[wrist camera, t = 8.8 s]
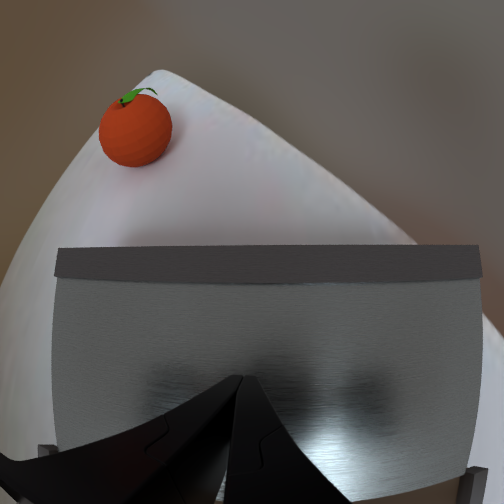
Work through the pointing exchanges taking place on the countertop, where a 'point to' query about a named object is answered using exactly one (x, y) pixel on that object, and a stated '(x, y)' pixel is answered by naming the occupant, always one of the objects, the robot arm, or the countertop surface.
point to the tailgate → (281, 348)
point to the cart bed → (421, 500)
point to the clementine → (135, 129)
